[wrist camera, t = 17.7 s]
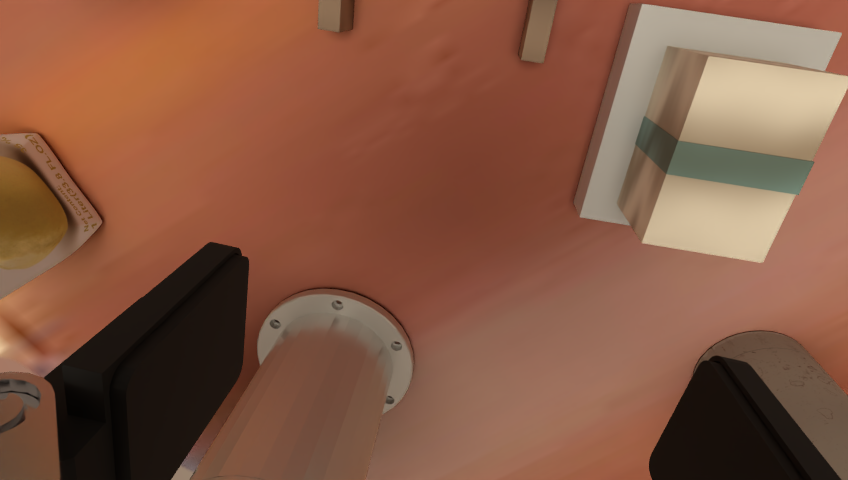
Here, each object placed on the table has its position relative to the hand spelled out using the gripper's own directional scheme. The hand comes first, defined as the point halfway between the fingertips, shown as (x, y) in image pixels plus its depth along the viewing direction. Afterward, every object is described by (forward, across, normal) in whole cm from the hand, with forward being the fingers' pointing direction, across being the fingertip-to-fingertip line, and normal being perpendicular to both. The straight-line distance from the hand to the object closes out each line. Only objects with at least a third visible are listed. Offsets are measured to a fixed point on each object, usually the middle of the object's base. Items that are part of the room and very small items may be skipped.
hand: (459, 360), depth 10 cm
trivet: (+24, -12, -3) cm, 27 cm away
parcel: (+21, -12, -3) cm, 24 cm away
